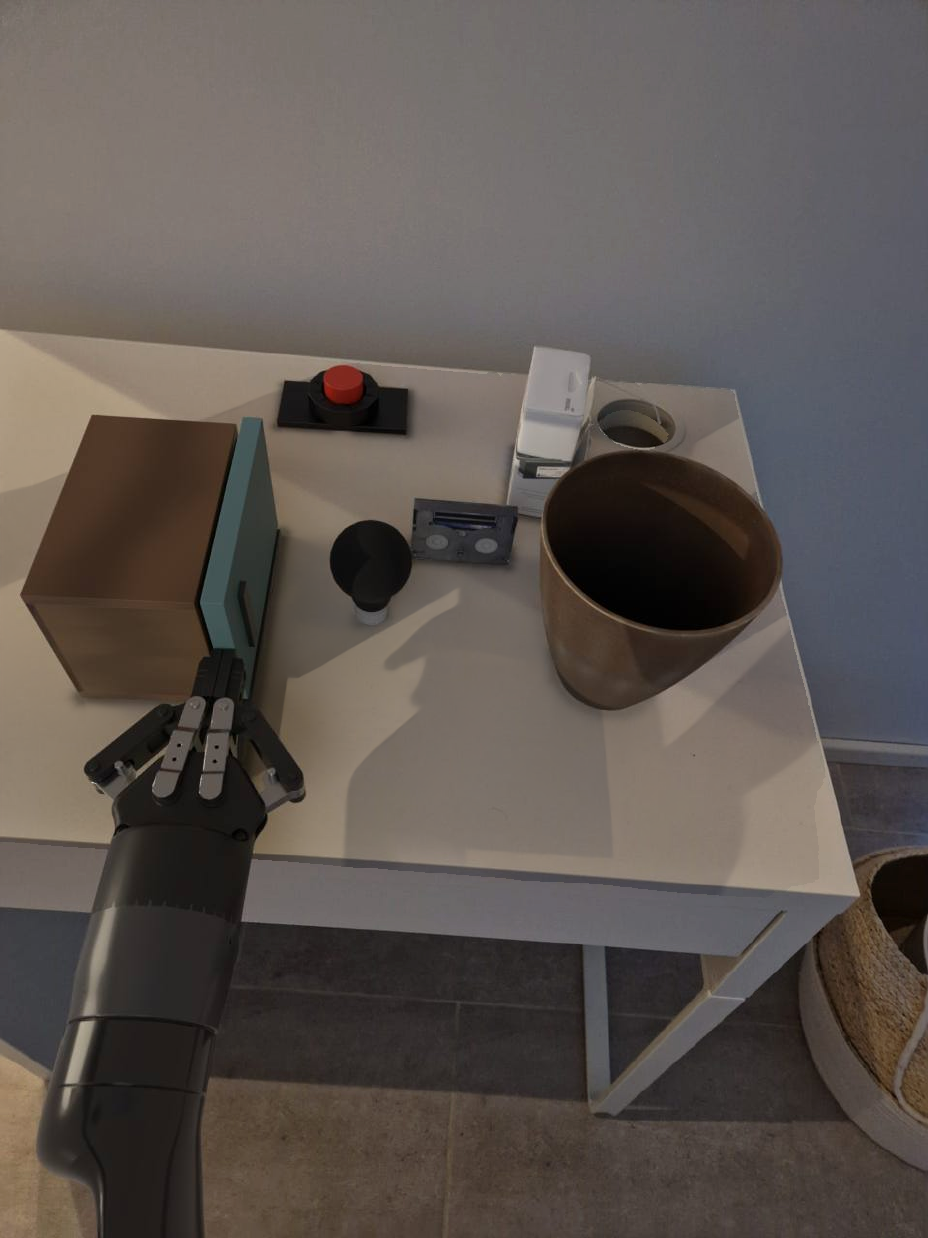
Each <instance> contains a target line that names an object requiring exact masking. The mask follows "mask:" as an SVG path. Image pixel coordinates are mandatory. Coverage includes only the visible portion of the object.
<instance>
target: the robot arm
mask: <svg viewBox="0 0 928 1238" xmlns="http://www.w3.org/2000/svg"><path fill="white" fill-rule="evenodd" d="M246 680H247V675H246V670H245V666H244V663H243V659H242V658H238V656H237V652H236V650H229V649H212V651H211V655H210V657H203V658H202V660H201V661H200V662H199V665H198V669H197V673H196V677H195V681H194V685H193V690H192V694H191V697H190V698H189V699H188V700H187V701H184V702H183V703H181V704H177V705H173V706H172V705H171V704H170V703H166V702H165V703H164V702H163V703H160V704H158V705H155V707H153V708H152V710H150V711H148V713H147V714H145V715H144V716H142V717H141V718H140V719H139V720H138V721H136V722H135V723H134V724H132V725H131V726H130V727H129V728H127V729H126V730H125V731H124V732H122V734H120V735H119V736H118V737H117V738H115V739H113V740H112V741H111V742H110V743H109V744H108V745H106V746H105V747H104V748H103V749H101V750H100V751H99V752H97V753H96V754H95V755H94V756H93V757H91V758H90V759H89V760H87V761H86V763H85V764H84V766H83V773H84V774H85V776H86V777H87V780H88V781H89V784H91V786H92V787H93V788H94V789H95V790H96V792H97V793H98V794H100V795H103V796H104V795H105V796H106V797H107V798H108V799H109V800H110V801H112V804H111V816H112V818H113V823H114V832H113V835H112V837H111V839H110V842H109V846H108V850H107V854H106V857H105V860H104V864H103V868H102V872H101V875H100V878H99V882H98V885H97V889H96V893H95V897H94V900H93V904H92V907H91V911H90V914H89V918H88V921H87V924H86V929H85V932H84V936H83V940H82V943H81V946H80V950H79V953H78V957H77V961H76V965H75V969H74V974H73V979H72V983H71V991H70V992H71V993H70V1001H69V1005H68V1007H69V1008H68V1012H67V1017H66V1021H65V1023H66V1025H65V1027H64V1028H63V1032H62V1035H61V1039H60V1043H59V1047H58V1050H57V1055H56V1057H55V1061H54V1064H53V1069H52V1072H51V1075H50V1080H49V1083H48V1087H47V1089H48V1090H47V1092H46V1095H45V1098H44V1102H43V1105H42V1110H41V1115H40V1118H39V1123H38V1128H37V1135H36V1140H35V1154H36V1158H37V1160H38V1162H39V1164H40V1165H41V1166H42V1167H43V1169H45V1170H46V1171H47V1172H48V1173H51V1174H53V1175H54V1176H57V1177H59V1178H62V1179H65V1180H68V1181H71V1182H74V1183H78V1184H80V1185H82V1186H84V1187H85V1188H87V1189H88V1190H89V1191H90V1193H91V1195H92V1199H93V1204H94V1205H93V1206H94V1213H95V1223H96V1238H206V1230H205V1229H206V1228H205V1213H204V1212H205V1211H204V1210H205V1209H204V1184H203V1183H204V1181H203V1180H204V1179H203V1178H204V1177H203V1157H202V1125H203V1123H202V1122H203V1116H204V1111H205V1106H206V1101H207V1098H206V1097H207V1090H208V1085H209V1081H210V1074H211V1070H212V1063H213V1057H214V1052H215V1045H216V1041H217V1034H218V1031H219V1027H220V1022H221V1018H222V1014H223V1011H224V1008H225V1004H226V1001H227V999H228V996H229V995H228V994H229V991H230V988H231V982H232V978H233V972H234V966H235V964H236V962H237V959H238V956H239V951H240V950H239V949H240V944H239V936H240V931H241V926H242V925H241V924H242V919H243V913H244V907H245V901H246V895H247V889H248V884H249V878H250V877H249V876H250V871H251V867H252V866H251V865H252V860H253V853H254V848H255V844H256V841H257V839H258V838H259V836H260V834H261V833H262V832H263V831H264V829H265V828H266V826H267V824H268V819H269V814H270V813H271V812H273V811H274V810H276V809H278V808H280V807H281V806H283V805H284V804H286V803H287V802H289V803H292V804H299V803H301V802H303V801H304V800H305V799H306V796H307V789H306V784H305V782H306V781H305V777H304V772H303V771H302V769H301V768H300V766H299V765H298V764H297V762H296V760H295V759H294V757H293V756H292V754H291V753H290V752H289V750H288V749H287V747H286V745H284V743H283V742H282V740H281V739H280V737H279V736H278V734H277V733H276V732H275V730H274V728H273V727H272V726H271V724H270V723H269V721H268V720H267V719H266V717H265V715H264V714H263V713H262V711H261V710H260V709H258V708H254V707H253V708H251V709H246V708H244V707H242V706H241V705H242V700H243V695H244V689H245V684H246ZM238 735H240V736H242V737H245V738H247V742H248V743H249V745H250V746H251V748H252V749H253V750H254V752H255V753H256V755H257V757H258V758H259V759H260V761H261V762H262V764H263V765H264V767H265V768H266V770H265V771H264V772H263V774H262V776H261V777H262V782H263V786H264V787H263V790H262V791H261V793H260V792H259V790H258V789H257V786H256V785H255V784H254V782H253V780H252V778H251V777H250V775H249V773H248V772H247V770H246V768H245V766H244V764H243V765H242V763H241V762H240V761H239V760H238V759H237V742H238ZM164 749H166V751H165V753H164V754H162V755H161V756H160V757H158V758H157V759H156V760H155V761H154V762H153V763H152V764H150V765H149V766H148V767H147V768H145V770H144V771H143V772H141V774H139V775H137V773H138V771H139V770H140V769H142V767H144V766H145V765H146V764H147V763H149V762H150V761H151V760H153V759H154V758H155V757H156V756H158V754H159V753H160V752H162V751H163V750H164Z"/></svg>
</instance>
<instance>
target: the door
mask: <svg viewBox="0 0 928 1238" xmlns="http://www.w3.org/2000/svg"><path fill="white" fill-rule="evenodd" d="M264 426H265V425H264V419H263V417H255V416H254V417H253V416H252V417H251V416H242V419H241V423H240V428H239V430H238V440H237V444H236V448H235V453H234V457H233V461H232V466H231V470H230V474H229V479H228V483H227V487H226V492H225V496H224V501H223V505H222V509H221V514H220V518H219V522H218V527H217V531H216V535H215V540H214V544H213V548H212V553H211V557H210V561H209V566H208V570H207V574H206V579H205V583H204V587H203V592H202V596H201V600H200V604H201V608H202V611H203V614H204V618H205V621H206V624H207V628H208V631H209V634H210V638H211V641H212V644H213V648H214V649H229V650H236V652H237V656H238V658H242V659H243V663H244V666H245V670H246V675H247V680H246V684H245V689H244V695H243V699H248V698H249V692H250V686H251V680H252V674H253V669H254V663H255V657H256V651H257V645H258V639H259V633H260V628H261V622H262V616H263V610H264V604H265V598H266V592H267V587H268V581H269V575H270V569H271V563H272V557H273V551H274V546H275V540H276V534H277V529H279V528H278V527H279V521H278V516H277V515H278V514H277V508H276V500H275V495H274V487H273V481H272V474H271V466H270V461H269V460H270V459H269V454H268V448H267V447H268V446H267V441H266V440H267V439H266V433H265V427H264Z"/></svg>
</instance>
